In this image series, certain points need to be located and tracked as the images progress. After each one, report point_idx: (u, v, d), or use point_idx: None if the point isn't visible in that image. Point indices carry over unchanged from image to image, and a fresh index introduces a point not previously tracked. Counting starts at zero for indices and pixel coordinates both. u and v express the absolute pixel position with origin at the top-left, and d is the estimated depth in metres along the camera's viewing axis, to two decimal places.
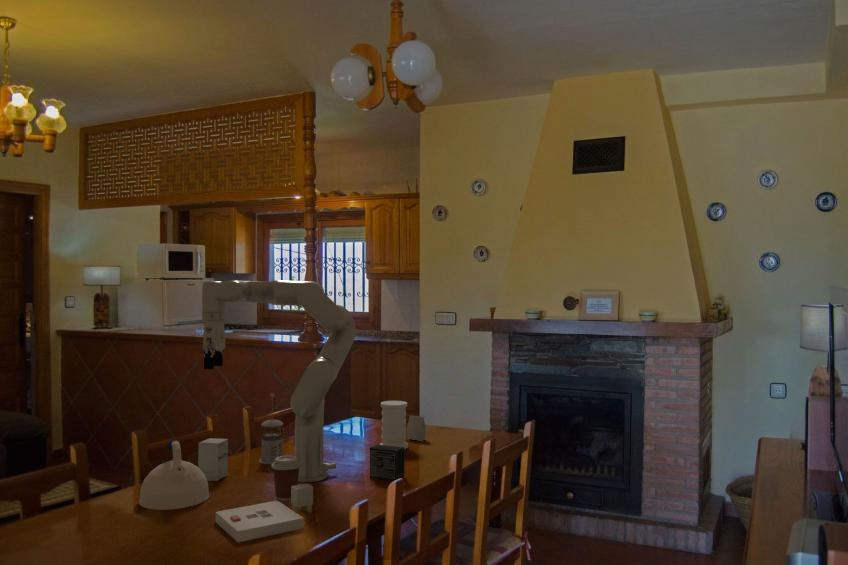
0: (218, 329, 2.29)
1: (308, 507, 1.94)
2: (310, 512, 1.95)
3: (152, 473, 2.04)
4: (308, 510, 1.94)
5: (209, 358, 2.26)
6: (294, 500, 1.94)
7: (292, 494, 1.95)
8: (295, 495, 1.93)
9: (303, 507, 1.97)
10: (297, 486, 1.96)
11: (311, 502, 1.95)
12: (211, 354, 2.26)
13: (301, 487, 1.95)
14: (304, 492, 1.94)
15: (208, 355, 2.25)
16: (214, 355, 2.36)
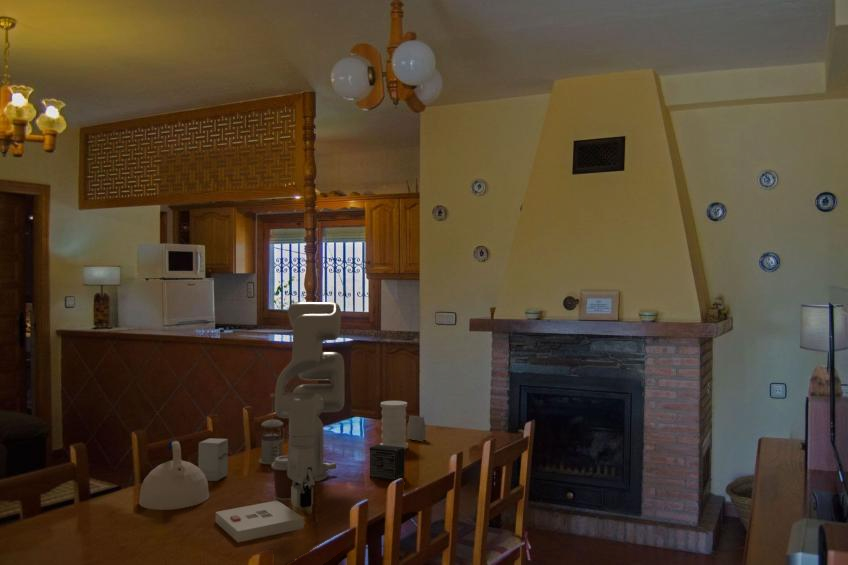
0: (288, 453, 1.97)
1: (308, 507, 1.94)
2: (310, 512, 1.95)
3: (152, 473, 2.04)
4: (308, 510, 1.94)
5: None
6: (294, 500, 1.94)
7: (292, 494, 1.95)
8: (295, 495, 1.93)
9: None
10: (297, 486, 1.96)
11: (311, 502, 1.95)
12: None
13: None
14: None
15: None
16: None
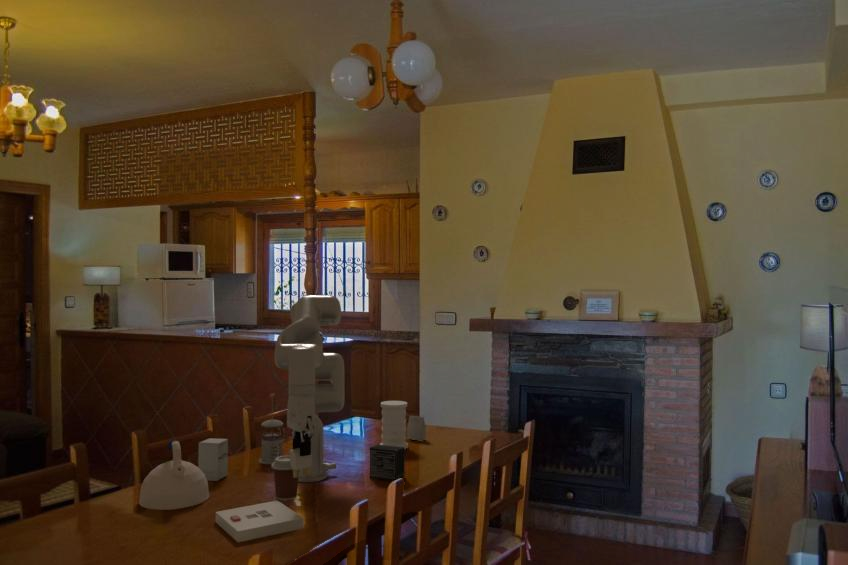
0: (288, 403, 1.97)
1: (307, 469, 1.95)
2: (311, 474, 1.95)
3: (152, 473, 2.04)
4: (308, 472, 1.95)
5: None
6: (293, 463, 1.94)
7: (291, 458, 1.95)
8: (294, 458, 1.93)
9: (303, 470, 1.97)
10: (295, 449, 1.96)
11: (311, 464, 1.95)
12: (292, 435, 1.98)
13: (299, 450, 1.94)
14: None
15: None
16: None
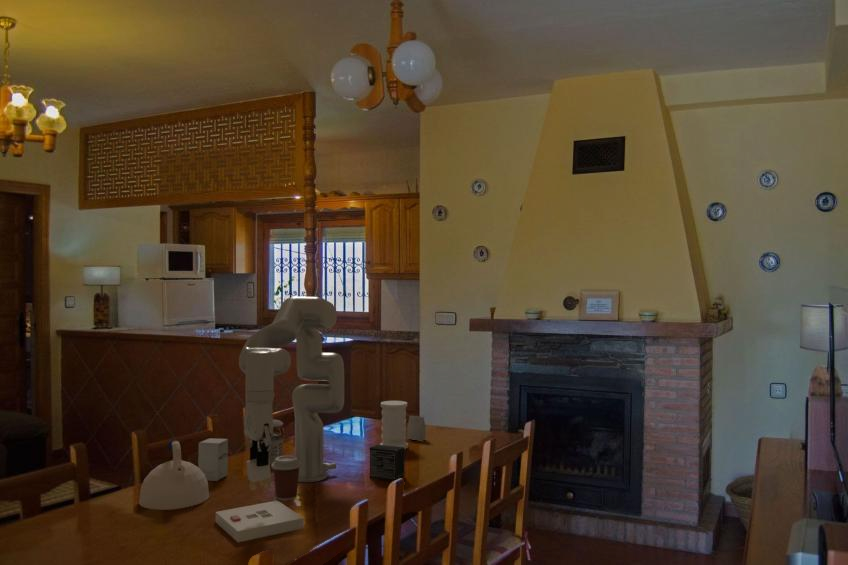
0: (245, 410, 1.87)
1: (265, 481, 1.84)
2: (269, 487, 1.84)
3: (152, 473, 2.04)
4: (266, 484, 1.84)
5: None
6: (250, 475, 1.83)
7: (248, 469, 1.84)
8: (250, 470, 1.83)
9: (261, 482, 1.87)
10: (252, 460, 1.85)
11: (269, 476, 1.85)
12: (250, 444, 1.88)
13: None
14: (260, 466, 1.83)
15: None
16: None
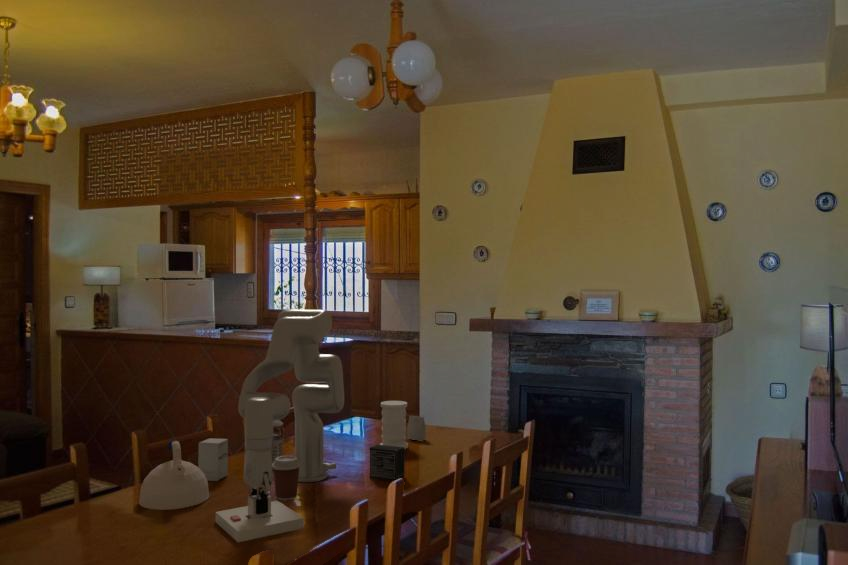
0: (245, 457, 1.87)
1: None
2: None
3: (152, 473, 2.04)
4: None
5: None
6: (251, 511, 1.83)
7: (249, 504, 1.85)
8: (251, 506, 1.83)
9: None
10: (254, 496, 1.85)
11: (269, 513, 1.85)
12: None
13: None
14: None
15: None
16: None
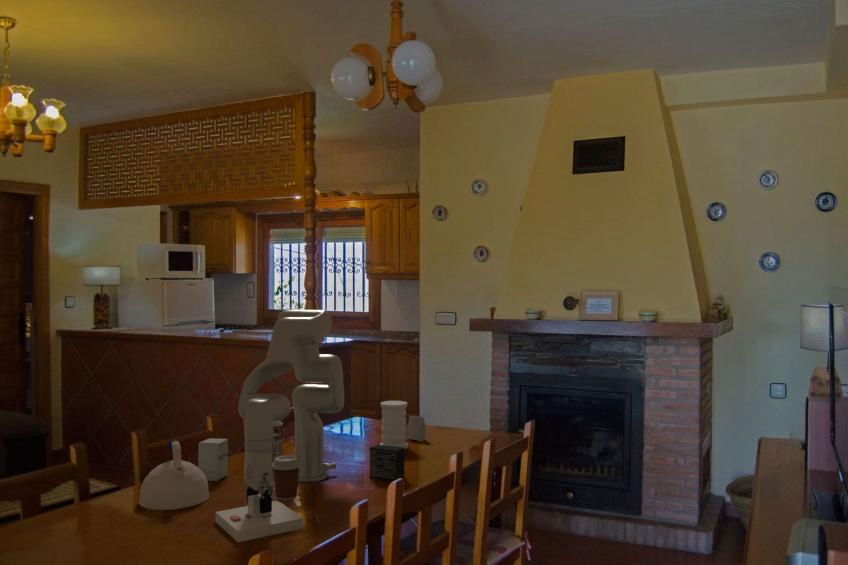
0: (245, 458, 1.87)
1: None
2: None
3: (152, 473, 2.04)
4: None
5: None
6: (250, 511, 1.83)
7: (249, 504, 1.85)
8: (251, 506, 1.83)
9: None
10: (254, 496, 1.85)
11: (269, 513, 1.85)
12: (247, 484, 1.90)
13: (258, 497, 1.84)
14: None
15: None
16: None
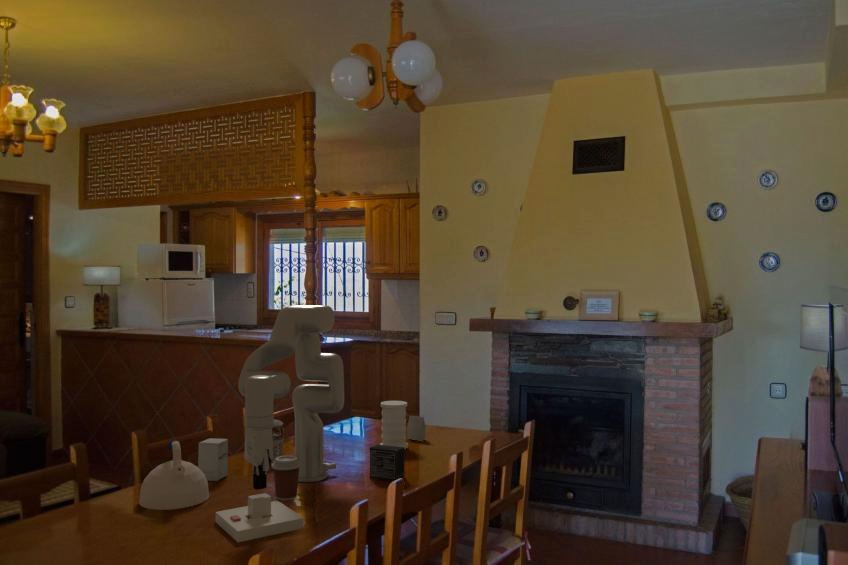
0: (245, 434, 1.87)
1: None
2: None
3: (152, 473, 2.04)
4: None
5: None
6: (250, 511, 1.83)
7: (249, 504, 1.85)
8: (251, 506, 1.83)
9: None
10: (254, 496, 1.85)
11: (269, 513, 1.85)
12: (253, 470, 1.87)
13: (258, 497, 1.84)
14: (261, 502, 1.83)
15: None
16: None
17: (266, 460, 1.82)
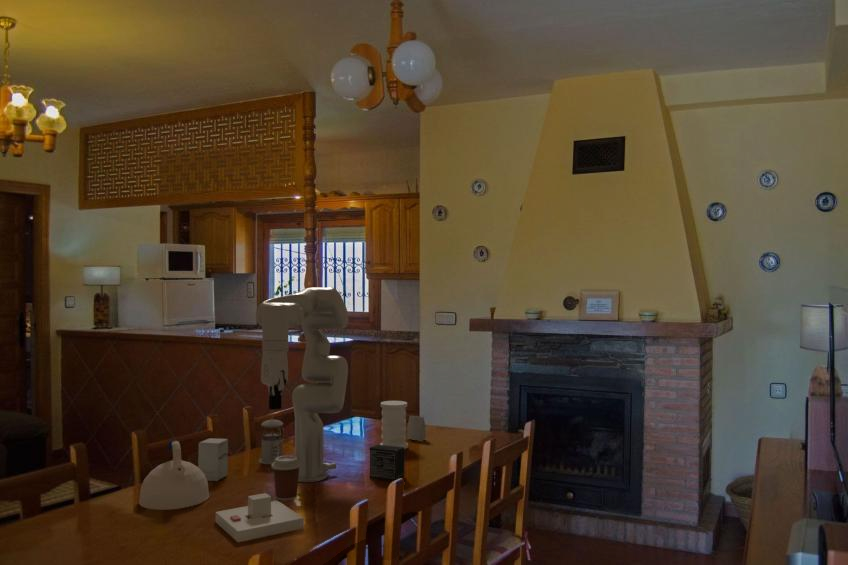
0: (262, 359, 2.01)
1: None
2: None
3: (152, 473, 2.04)
4: None
5: None
6: (250, 511, 1.83)
7: (249, 504, 1.85)
8: (251, 506, 1.83)
9: None
10: (254, 496, 1.85)
11: (269, 513, 1.85)
12: (269, 392, 2.00)
13: (258, 497, 1.84)
14: (261, 502, 1.83)
15: None
16: None
17: (281, 380, 1.96)
